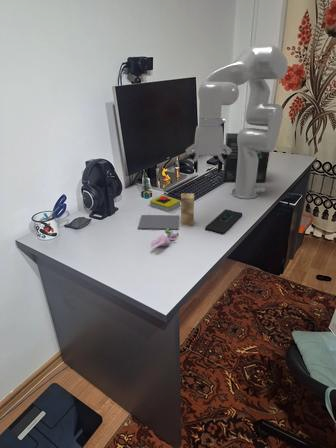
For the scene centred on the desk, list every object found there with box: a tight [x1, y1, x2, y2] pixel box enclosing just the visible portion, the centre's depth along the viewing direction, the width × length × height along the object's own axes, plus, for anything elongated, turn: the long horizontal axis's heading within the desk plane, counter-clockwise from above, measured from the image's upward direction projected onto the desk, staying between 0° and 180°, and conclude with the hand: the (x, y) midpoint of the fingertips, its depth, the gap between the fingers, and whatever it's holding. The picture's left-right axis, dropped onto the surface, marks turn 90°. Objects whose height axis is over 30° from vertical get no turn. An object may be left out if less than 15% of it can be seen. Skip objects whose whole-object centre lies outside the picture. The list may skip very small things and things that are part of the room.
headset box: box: [222, 132, 270, 184], centre depth 167 cm, size 22×12×26 cm, turn 84°
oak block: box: [180, 192, 195, 227], centre depth 123 cm, size 5×5×12 cm
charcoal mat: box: [137, 214, 180, 231], centre depth 126 cm, size 16×12×1 cm
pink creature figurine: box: [150, 228, 179, 249], centre depth 110 cm, size 6×6×15 cm
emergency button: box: [147, 194, 181, 214], centre depth 141 cm, size 9×4×15 cm
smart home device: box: [204, 209, 243, 236], centre depth 126 cm, size 8×2×20 cm
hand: (207, 171), depth 115 cm, fingers open, 7 cm apart
